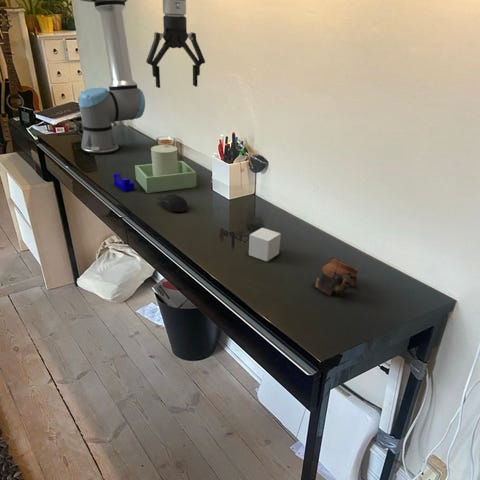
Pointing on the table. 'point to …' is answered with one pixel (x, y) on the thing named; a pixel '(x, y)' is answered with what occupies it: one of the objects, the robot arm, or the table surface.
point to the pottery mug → (339, 284)
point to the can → (164, 160)
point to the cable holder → (123, 183)
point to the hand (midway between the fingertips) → (176, 86)
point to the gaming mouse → (174, 203)
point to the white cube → (264, 244)
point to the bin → (165, 178)
